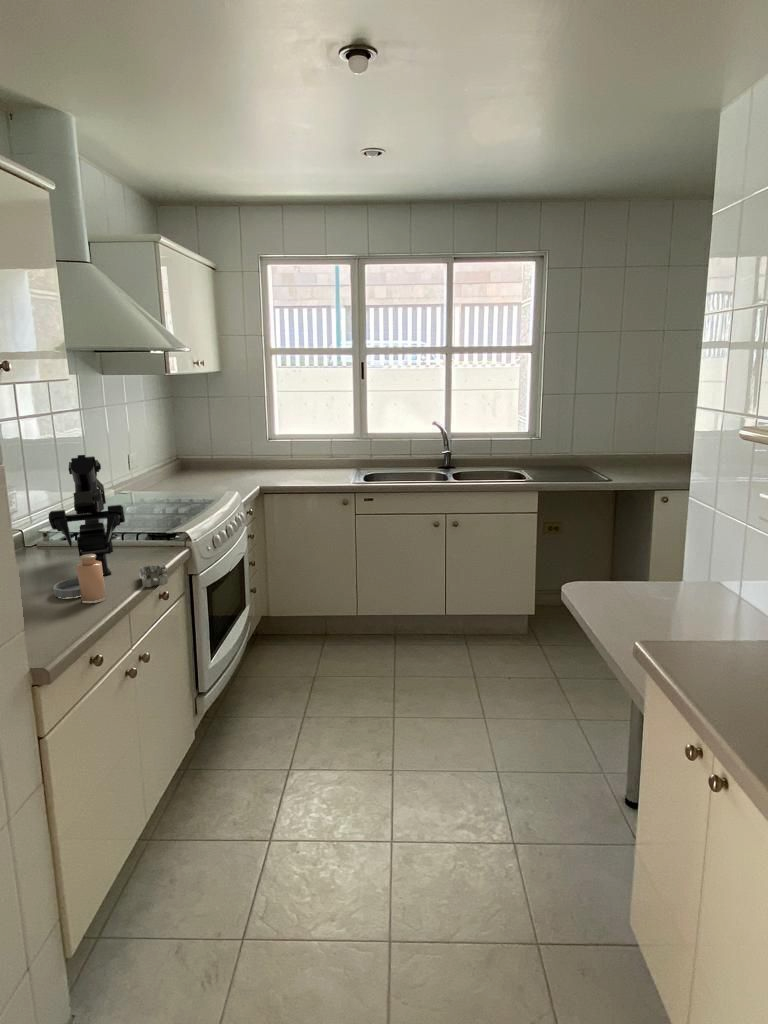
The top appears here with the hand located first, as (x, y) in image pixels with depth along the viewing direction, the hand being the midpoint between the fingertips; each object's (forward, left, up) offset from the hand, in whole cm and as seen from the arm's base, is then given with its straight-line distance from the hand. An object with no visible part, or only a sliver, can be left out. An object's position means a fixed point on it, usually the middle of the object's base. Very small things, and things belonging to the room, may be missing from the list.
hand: (89, 543), depth 181 cm
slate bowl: (-2, -5, -13) cm, 14 cm away
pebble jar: (+7, -2, -13) cm, 15 cm away
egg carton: (+1, +16, -14) cm, 21 cm away
